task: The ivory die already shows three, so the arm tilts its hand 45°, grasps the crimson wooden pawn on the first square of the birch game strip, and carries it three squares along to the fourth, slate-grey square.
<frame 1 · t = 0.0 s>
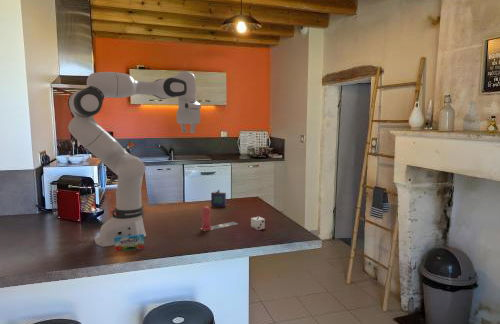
hand: (188, 133, 177), 48 cm above the countertop, tool pointing down, fingers open, 8 cm apart
pawn: (206, 228, 175), point 1 cm above the countertop, touching game strip
die: (257, 228, 180), on the countertop
colorful food package: (130, 250, 150), on the countertop
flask: (218, 206, 221), on the countertop
game strip: (219, 228, 179), on the countertop
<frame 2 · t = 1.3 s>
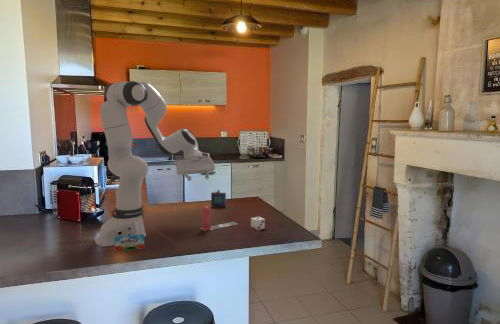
hand: (198, 179, 183), 24 cm above the countertop, tool tilted 45°, fingers open, 8 cm apart
nothing on the countertop moved.
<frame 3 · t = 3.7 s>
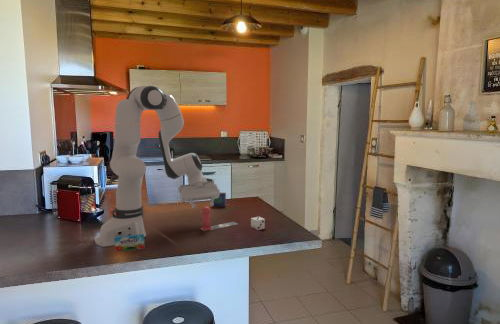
hand: (203, 206, 178), 11 cm above the countertop, tool tilted 45°, fingers open, 8 cm apart
nothing on the countertop moved.
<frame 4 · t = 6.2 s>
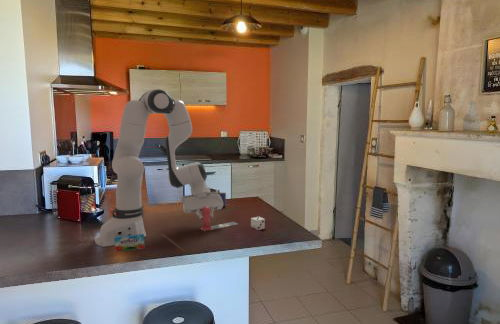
hand: (206, 217, 173), 7 cm above the countertop, tool tilted 45°, fingers closed on pawn, 4 cm apart
pawn: (206, 228, 175), point 1 cm above the countertop, touching game strip, gripper
everything else where it was.
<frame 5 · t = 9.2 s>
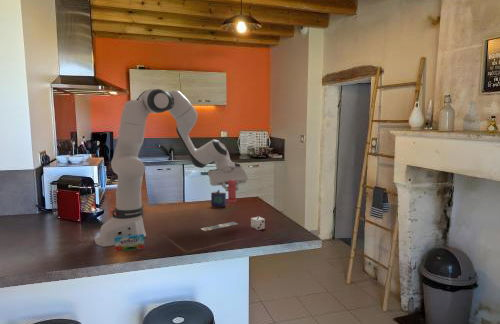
hand: (232, 190, 180), 19 cm above the countertop, tool tilted 45°, fingers closed on pawn, 4 cm apart
pawn: (231, 201, 182), point 13 cm above the countertop, touching gripper
everything else where it was.
when the fingers open (8 cm above the countertop, at t = 12.2 s): pawn drops 1 cm, resting on game strip.
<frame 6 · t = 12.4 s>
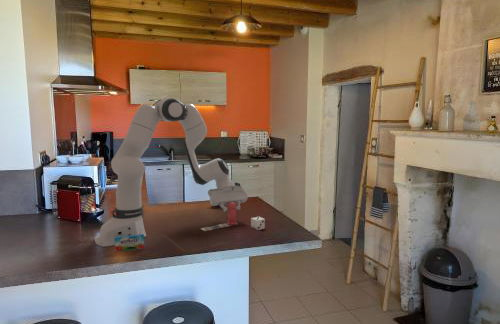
hand: (232, 210, 182), 8 cm above the countertop, tool tilted 45°, fingers open, 6 cm apart
pawn: (231, 223, 183), point 1 cm above the countertop, touching game strip
everything else where it was.
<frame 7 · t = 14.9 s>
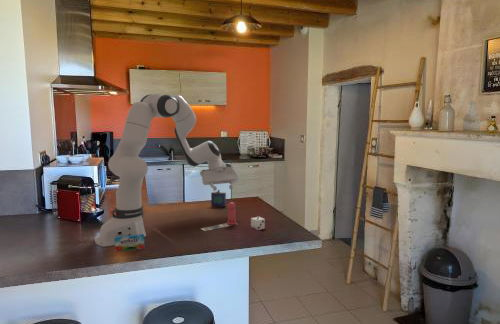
hand: (223, 189, 192), 17 cm above the countertop, tool tilted 45°, fingers open, 8 cm apart
nothing on the countertop moved.
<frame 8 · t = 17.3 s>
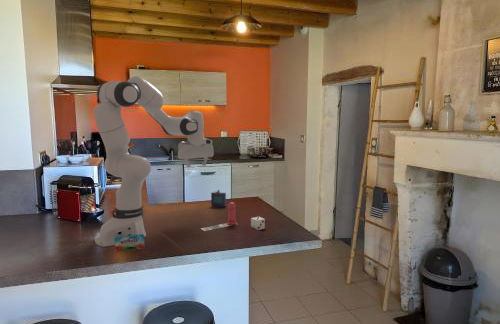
hand: (196, 166, 193), 29 cm above the countertop, tool pointing down, fingers open, 8 cm apart
nothing on the countertop moved.
at the end: pawn 0.1 cm from the target spot, point 1.0 cm above the countertop; pawn tilted 1°; the gripper is holding nothing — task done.
